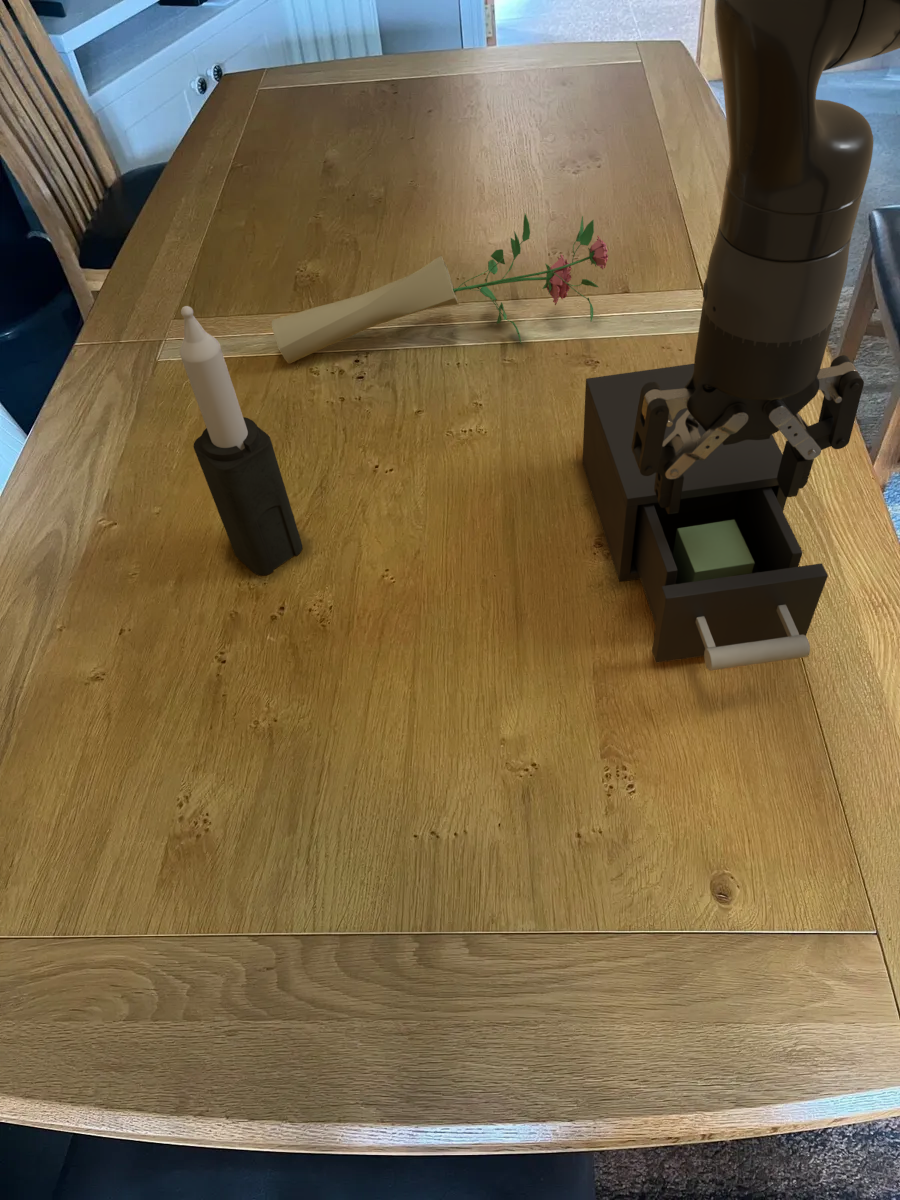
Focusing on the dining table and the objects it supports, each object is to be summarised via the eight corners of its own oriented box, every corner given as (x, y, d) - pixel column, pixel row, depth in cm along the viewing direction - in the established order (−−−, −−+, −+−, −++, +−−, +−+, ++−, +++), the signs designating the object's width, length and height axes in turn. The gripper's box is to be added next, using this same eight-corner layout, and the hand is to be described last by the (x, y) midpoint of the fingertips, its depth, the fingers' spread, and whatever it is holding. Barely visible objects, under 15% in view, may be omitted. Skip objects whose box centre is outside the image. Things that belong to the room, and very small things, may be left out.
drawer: (825, 689, 69) (852, 624, 63) (670, 711, 69) (683, 648, 63) (747, 516, 81) (764, 447, 74) (614, 535, 80) (620, 467, 74)
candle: (274, 520, 86) (196, 277, 67) (308, 548, 83) (236, 304, 64) (229, 550, 84) (134, 309, 65) (261, 580, 82) (173, 338, 62)
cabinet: (769, 560, 78) (793, 475, 71) (619, 582, 78) (627, 498, 71) (716, 444, 88) (733, 357, 80) (582, 463, 88) (585, 378, 80)
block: (725, 558, 76) (734, 519, 73) (744, 601, 73) (755, 562, 70) (670, 566, 76) (676, 528, 73) (687, 610, 73) (694, 572, 70)
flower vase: (317, 393, 109) (608, 290, 104) (309, 435, 99) (630, 324, 94) (275, 296, 103) (581, 182, 98) (261, 331, 93) (603, 206, 88)
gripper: (666, 354, 52) (643, 549, 65) (916, 319, 52) (845, 520, 65) (633, 281, 57) (618, 475, 70) (863, 249, 57) (806, 449, 70)
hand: (728, 497), depth 67 cm, fingers open, 8 cm apart
